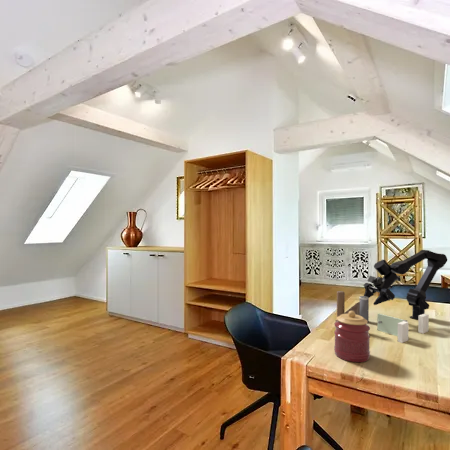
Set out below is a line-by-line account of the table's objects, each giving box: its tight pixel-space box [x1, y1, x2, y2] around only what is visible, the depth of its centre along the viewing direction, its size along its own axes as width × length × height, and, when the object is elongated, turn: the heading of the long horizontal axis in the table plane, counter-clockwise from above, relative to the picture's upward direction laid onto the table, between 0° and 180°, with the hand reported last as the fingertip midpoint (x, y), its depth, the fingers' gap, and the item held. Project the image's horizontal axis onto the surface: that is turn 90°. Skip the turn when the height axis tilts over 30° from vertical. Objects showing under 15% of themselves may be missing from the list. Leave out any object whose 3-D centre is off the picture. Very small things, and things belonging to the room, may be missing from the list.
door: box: [376, 313, 408, 337], centre depth 143 cm, size 14×3×8 cm, turn 33°
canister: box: [333, 311, 371, 363], centre depth 120 cm, size 13×13×18 cm
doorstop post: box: [358, 295, 370, 323], centre depth 162 cm, size 4×4×13 cm
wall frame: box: [397, 313, 430, 344], centre depth 141 cm, size 26×2×8 cm, turn 125°
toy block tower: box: [334, 290, 360, 328], centre depth 150 cm, size 4×11×18 cm, turn 46°
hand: (368, 302), depth 162 cm, fingers open, 9 cm apart
